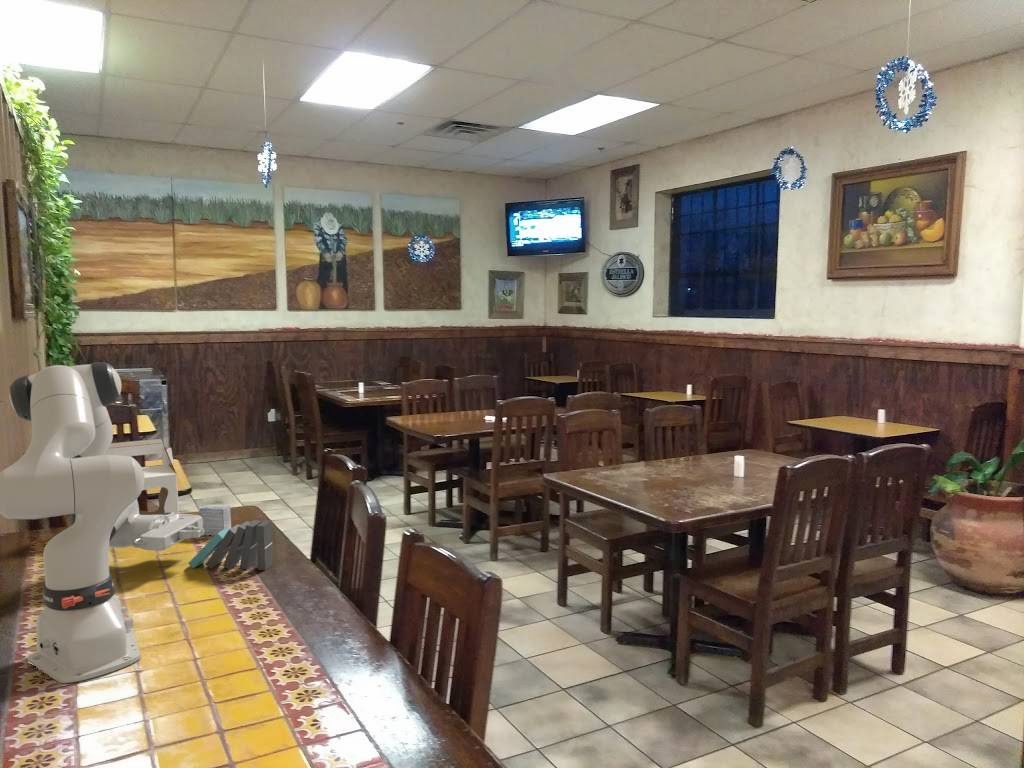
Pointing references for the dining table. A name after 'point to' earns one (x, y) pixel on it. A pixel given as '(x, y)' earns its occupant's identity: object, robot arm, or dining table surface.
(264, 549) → the black domino
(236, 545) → the black domino
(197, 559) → the teal domino
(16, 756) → the dining table surface
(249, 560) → the black domino
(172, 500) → the gable box
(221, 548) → the black domino
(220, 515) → the medicine box
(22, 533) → the dining table surface
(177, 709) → the dining table surface
